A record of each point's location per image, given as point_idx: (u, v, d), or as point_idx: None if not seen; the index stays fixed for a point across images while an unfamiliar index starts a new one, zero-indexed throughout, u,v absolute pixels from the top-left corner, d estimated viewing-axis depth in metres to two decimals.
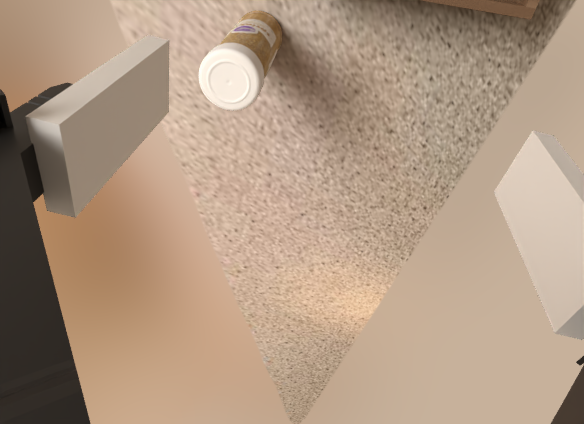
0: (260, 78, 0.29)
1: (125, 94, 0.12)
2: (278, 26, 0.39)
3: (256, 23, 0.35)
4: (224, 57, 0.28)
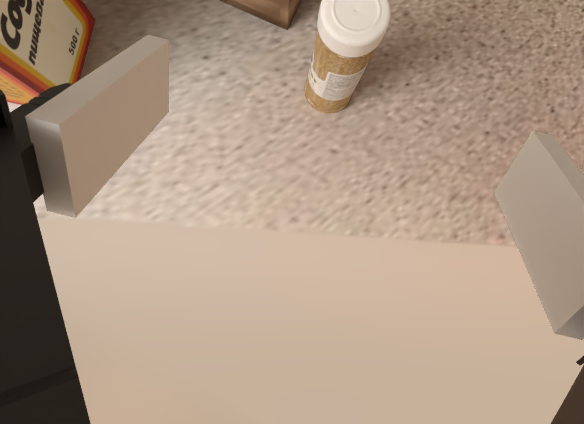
0: None
1: (125, 94, 0.12)
2: None
3: None
4: (329, 3, 0.26)
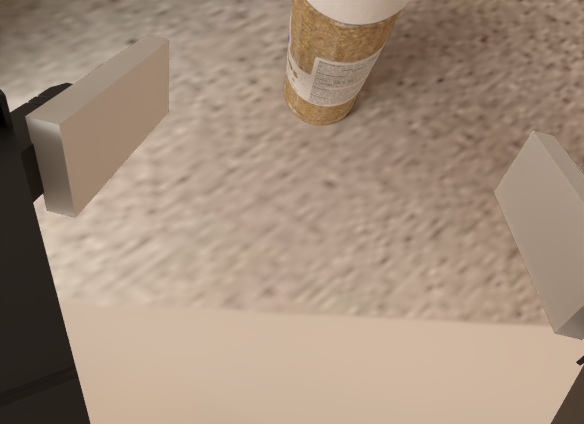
0: None
1: (125, 94, 0.12)
2: None
3: None
4: None
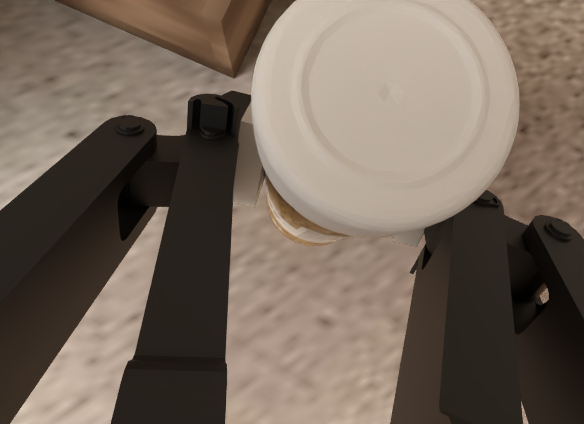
0: None
1: None
2: None
3: None
4: (285, 69, 0.07)
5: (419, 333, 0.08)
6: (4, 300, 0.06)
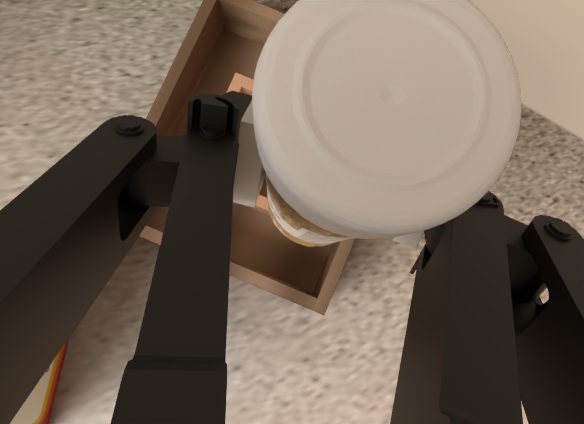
0: None
1: None
2: None
3: None
4: (286, 70, 0.07)
5: (419, 333, 0.08)
6: (4, 300, 0.06)
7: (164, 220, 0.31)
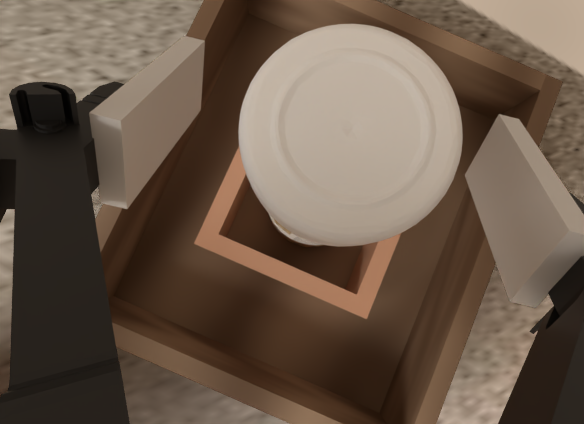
0: None
1: (169, 92, 0.12)
2: None
3: None
4: (266, 110, 0.08)
5: (530, 388, 0.08)
6: None
7: (157, 299, 0.21)
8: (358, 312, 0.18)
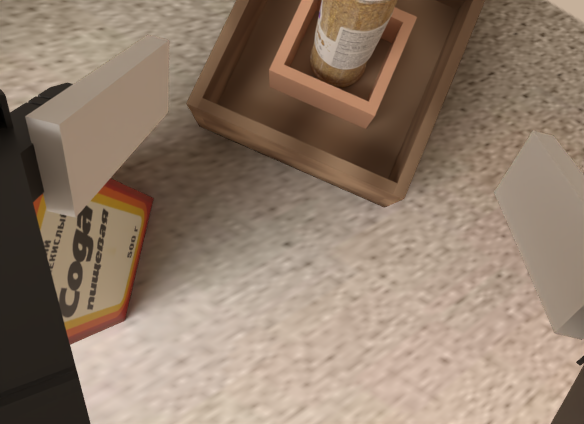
0: None
1: (125, 94, 0.12)
2: None
3: None
4: None
5: (573, 417, 0.08)
6: None
7: None
8: (369, 112, 0.29)
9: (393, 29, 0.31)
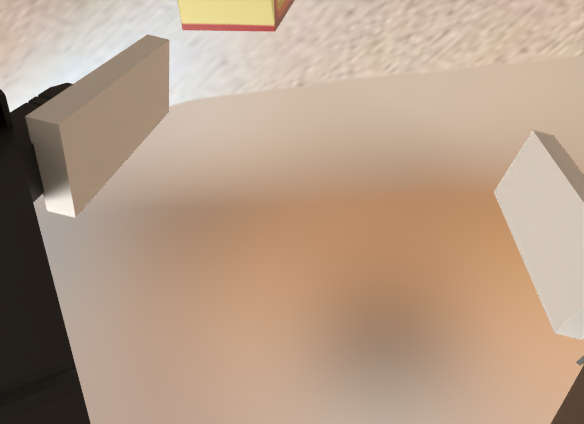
0: None
1: (125, 94, 0.12)
2: None
3: None
4: None
5: (573, 417, 0.08)
6: None
7: None
8: None
9: None
